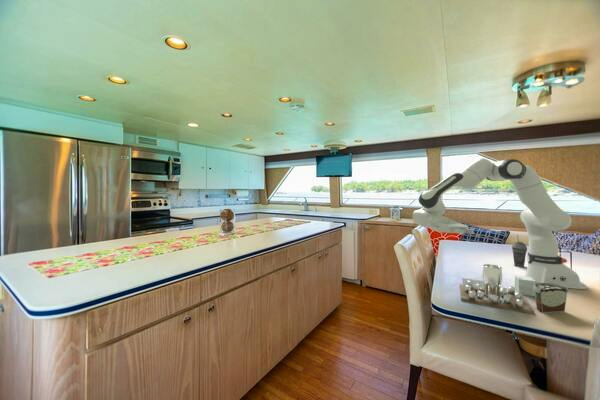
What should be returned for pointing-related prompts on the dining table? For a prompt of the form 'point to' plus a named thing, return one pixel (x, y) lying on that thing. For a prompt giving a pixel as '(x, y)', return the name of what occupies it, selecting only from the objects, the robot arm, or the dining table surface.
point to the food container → (550, 297)
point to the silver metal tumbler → (492, 280)
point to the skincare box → (524, 285)
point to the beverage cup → (519, 253)
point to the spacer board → (500, 305)
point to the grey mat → (473, 282)
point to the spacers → (494, 297)
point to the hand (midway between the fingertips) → (468, 232)
